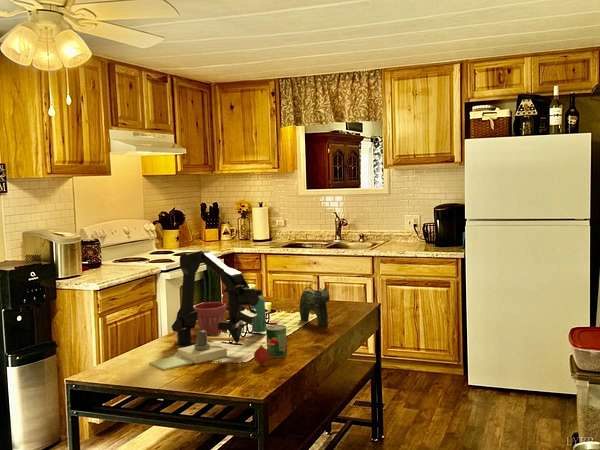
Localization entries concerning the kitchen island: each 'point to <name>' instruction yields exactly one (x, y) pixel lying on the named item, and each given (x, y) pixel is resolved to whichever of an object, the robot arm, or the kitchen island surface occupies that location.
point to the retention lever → (224, 339)
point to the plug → (201, 341)
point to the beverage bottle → (259, 314)
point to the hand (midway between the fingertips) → (237, 342)
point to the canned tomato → (276, 340)
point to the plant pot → (210, 316)
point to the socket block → (202, 353)
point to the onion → (261, 356)
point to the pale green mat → (170, 362)
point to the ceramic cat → (315, 304)
